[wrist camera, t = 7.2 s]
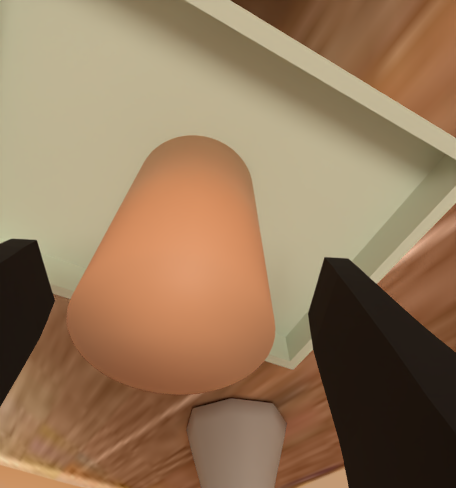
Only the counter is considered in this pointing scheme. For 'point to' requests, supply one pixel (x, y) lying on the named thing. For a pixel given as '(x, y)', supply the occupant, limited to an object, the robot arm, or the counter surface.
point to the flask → (236, 443)
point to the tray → (213, 126)
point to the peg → (178, 277)
